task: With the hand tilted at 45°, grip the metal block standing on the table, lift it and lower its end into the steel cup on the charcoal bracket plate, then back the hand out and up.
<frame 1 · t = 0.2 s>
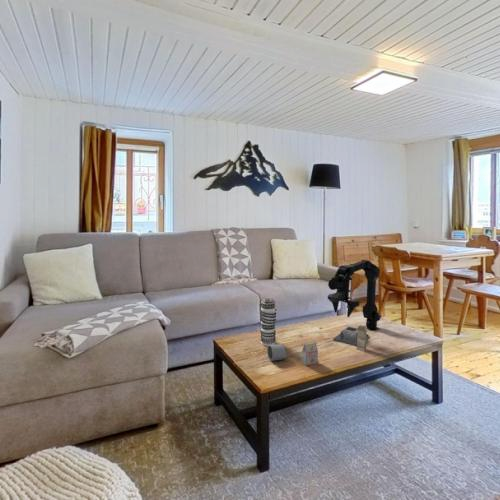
hand: (341, 314, 188), 14 cm above the table, tool pointing down, fingers open, 9 cm apart
ceramic mug: (275, 358, 166), on the table
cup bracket: (351, 338, 190), on the table
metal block: (361, 349, 176), on the table
decorative candle: (268, 342, 185), on the table
small box: (309, 363, 161), on the table
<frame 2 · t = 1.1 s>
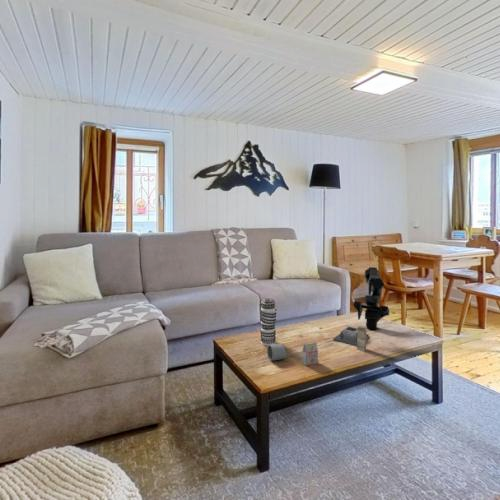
hand: (366, 321, 180), 13 cm above the table, tool tilted 45°, fingers open, 9 cm apart
nothing on the table moved.
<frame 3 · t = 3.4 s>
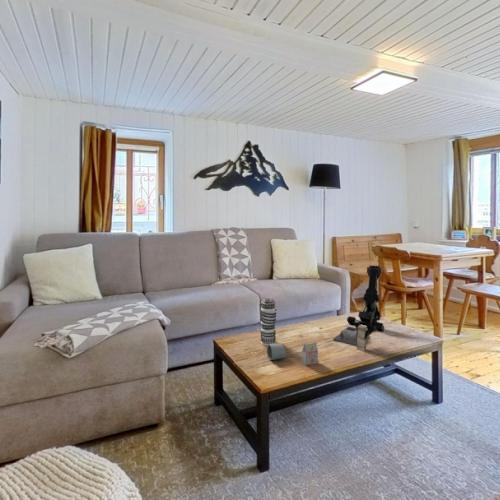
hand: (361, 338, 174), 7 cm above the table, tool tilted 45°, fingers closed on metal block, 4 cm apart
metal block: (361, 349, 176), on the table, touching gripper
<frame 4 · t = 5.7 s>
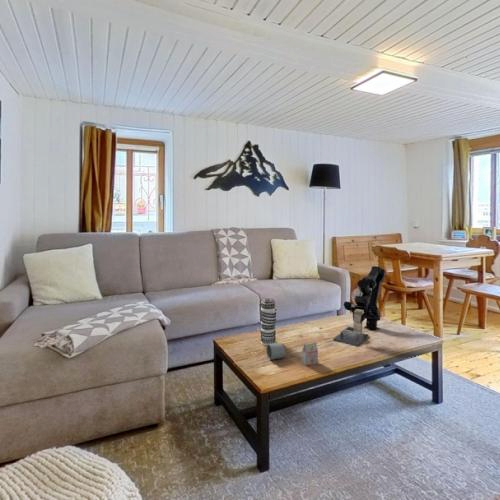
hand: (357, 321, 180), 13 cm above the table, tool tilted 45°, fingers closed on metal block, 4 cm apart
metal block: (357, 332, 182), point 6 cm above the table, touching gripper
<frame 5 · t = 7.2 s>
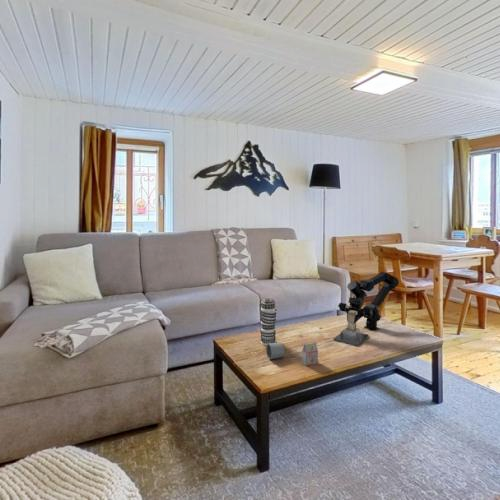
hand: (351, 322, 188), 10 cm above the table, tool tilted 45°, fingers closed on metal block, 4 cm apart
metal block: (351, 332, 190), point 3 cm above the table, touching gripper
when the fingers open (9 cm above the table, at t = 8.1 s): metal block drops 1 cm, resting on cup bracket.
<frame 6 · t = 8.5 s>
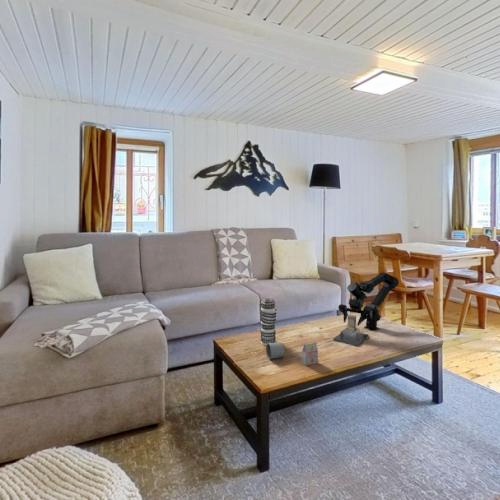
hand: (350, 323, 188), 9 cm above the table, tool tilted 45°, fingers open, 8 cm apart
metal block: (351, 336, 190), point 1 cm above the table, touching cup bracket
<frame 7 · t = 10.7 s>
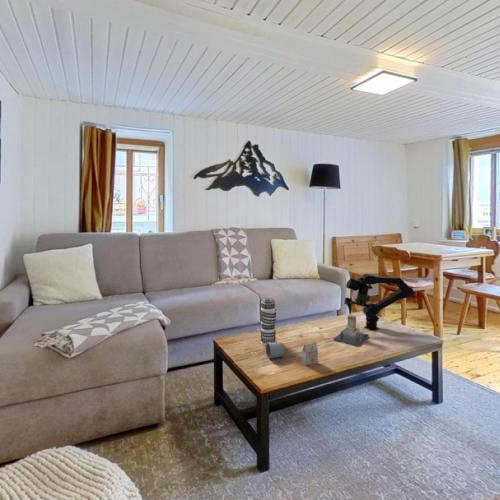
hand: (357, 317, 196), 10 cm above the table, tool tilted 35°, fingers open, 9 cm apart
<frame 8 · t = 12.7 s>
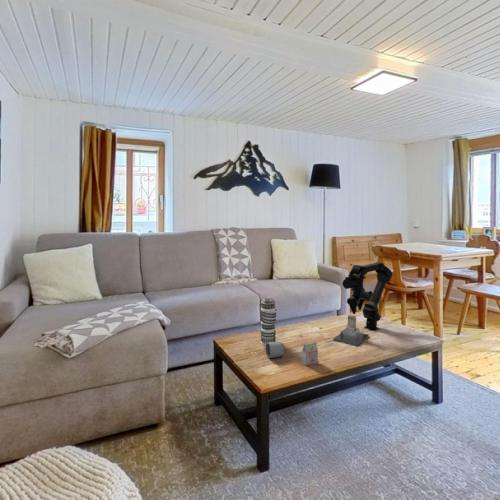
hand: (357, 312, 197), 13 cm above the table, tool pointing down, fingers open, 9 cm apart
at the end: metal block 0.0 cm off-centre on the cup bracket, point 1.0 cm above the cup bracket's base; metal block tilted 0°; the gripper is holding nothing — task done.
